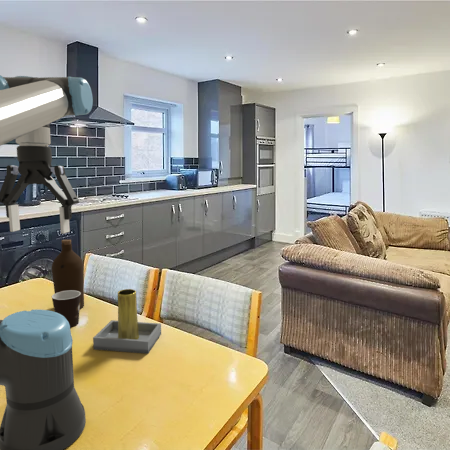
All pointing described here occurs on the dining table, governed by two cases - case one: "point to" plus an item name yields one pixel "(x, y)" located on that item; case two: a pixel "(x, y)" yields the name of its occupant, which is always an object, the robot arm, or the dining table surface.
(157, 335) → the tray
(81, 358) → the dining table surface
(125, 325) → the vase
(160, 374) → the dining table surface
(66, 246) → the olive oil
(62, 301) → the coffee mug
